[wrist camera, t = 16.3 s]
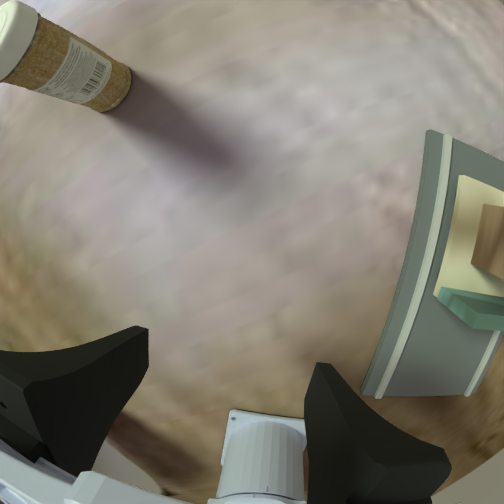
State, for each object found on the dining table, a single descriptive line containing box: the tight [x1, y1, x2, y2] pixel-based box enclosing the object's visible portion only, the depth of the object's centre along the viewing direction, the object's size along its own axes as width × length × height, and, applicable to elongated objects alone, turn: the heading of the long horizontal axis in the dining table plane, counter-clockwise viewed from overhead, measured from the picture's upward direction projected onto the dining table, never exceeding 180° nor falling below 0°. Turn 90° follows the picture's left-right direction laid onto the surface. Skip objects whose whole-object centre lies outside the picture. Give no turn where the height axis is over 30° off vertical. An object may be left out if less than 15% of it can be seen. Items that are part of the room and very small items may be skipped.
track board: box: [360, 130, 504, 399], centre depth 19 cm, size 22×14×1 cm, turn 171°
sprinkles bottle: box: [0, 0, 131, 112], centre depth 13 cm, size 5×5×14 cm
